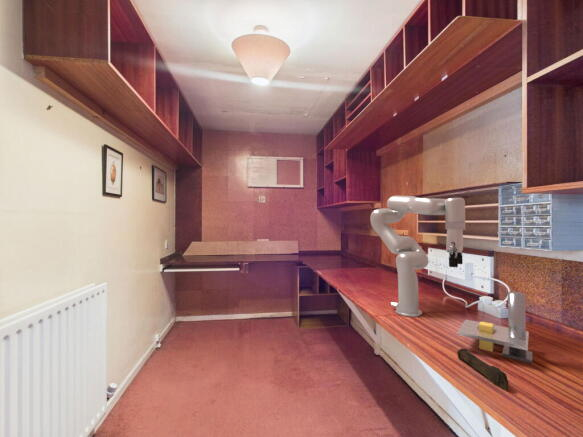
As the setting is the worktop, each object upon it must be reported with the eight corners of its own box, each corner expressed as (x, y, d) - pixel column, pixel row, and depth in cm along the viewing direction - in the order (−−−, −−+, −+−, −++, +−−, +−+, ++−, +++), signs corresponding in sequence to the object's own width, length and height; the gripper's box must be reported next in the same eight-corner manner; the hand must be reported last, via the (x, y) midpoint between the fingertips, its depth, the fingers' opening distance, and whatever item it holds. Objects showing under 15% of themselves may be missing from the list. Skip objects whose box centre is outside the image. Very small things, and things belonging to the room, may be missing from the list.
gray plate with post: (457, 349, 105) (456, 290, 105) (466, 335, 117) (465, 282, 117) (532, 368, 91) (530, 300, 91) (532, 350, 103) (531, 290, 103)
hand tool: (456, 359, 98) (456, 346, 98) (467, 359, 98) (467, 346, 98) (497, 392, 79) (497, 376, 79) (511, 392, 79) (511, 376, 79)
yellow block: (479, 348, 105) (479, 324, 105) (481, 344, 108) (480, 321, 108) (492, 351, 103) (492, 327, 103) (493, 347, 106) (493, 323, 106)
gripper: (450, 225, 131) (450, 262, 131) (440, 226, 118) (441, 267, 118) (468, 225, 127) (469, 263, 126) (461, 226, 114) (461, 269, 113)
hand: (455, 265), depth 122 cm, fingers open, 9 cm apart
